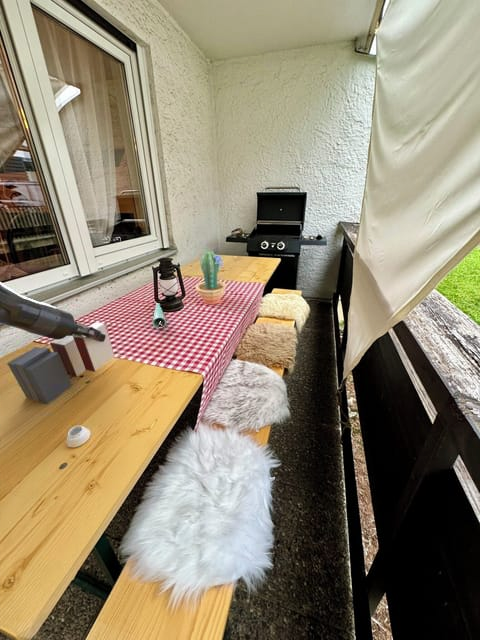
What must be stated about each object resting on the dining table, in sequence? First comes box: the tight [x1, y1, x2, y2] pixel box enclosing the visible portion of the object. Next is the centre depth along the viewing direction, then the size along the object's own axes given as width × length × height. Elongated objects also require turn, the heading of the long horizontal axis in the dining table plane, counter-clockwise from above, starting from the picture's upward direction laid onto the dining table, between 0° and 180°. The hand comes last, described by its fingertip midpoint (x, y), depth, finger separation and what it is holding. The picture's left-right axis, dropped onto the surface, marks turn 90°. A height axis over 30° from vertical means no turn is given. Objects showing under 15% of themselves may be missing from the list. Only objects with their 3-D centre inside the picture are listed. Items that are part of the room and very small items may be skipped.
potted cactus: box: [195, 250, 227, 305], centre depth 126 cm, size 15×15×25 cm
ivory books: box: [49, 336, 87, 378], centre depth 83 cm, size 6×8×12 cm, turn 162°
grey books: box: [7, 346, 73, 405], centre depth 73 cm, size 8×8×13 cm
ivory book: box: [73, 321, 115, 373], centre depth 77 cm, size 3×8×12 cm, turn 162°
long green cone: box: [152, 302, 167, 330], centre depth 118 cm, size 5×6×27 cm
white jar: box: [65, 424, 92, 448], centre depth 61 cm, size 5×3×5 cm
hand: (98, 337), depth 78 cm, fingers closed on ivory book, 3 cm apart
